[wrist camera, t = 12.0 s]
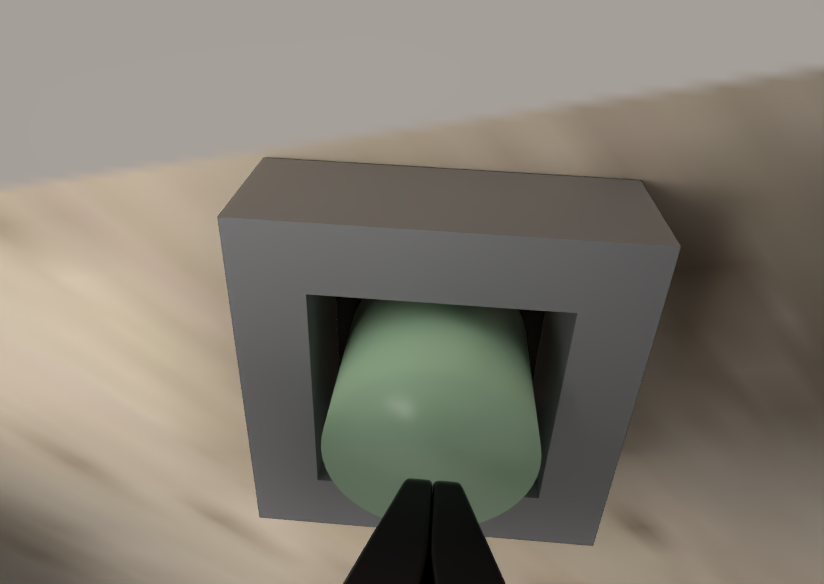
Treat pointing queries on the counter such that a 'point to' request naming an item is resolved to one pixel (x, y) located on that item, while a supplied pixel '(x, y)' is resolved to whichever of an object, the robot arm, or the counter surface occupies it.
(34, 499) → the counter surface
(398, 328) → the button
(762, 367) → the counter surface
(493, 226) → the button housing
